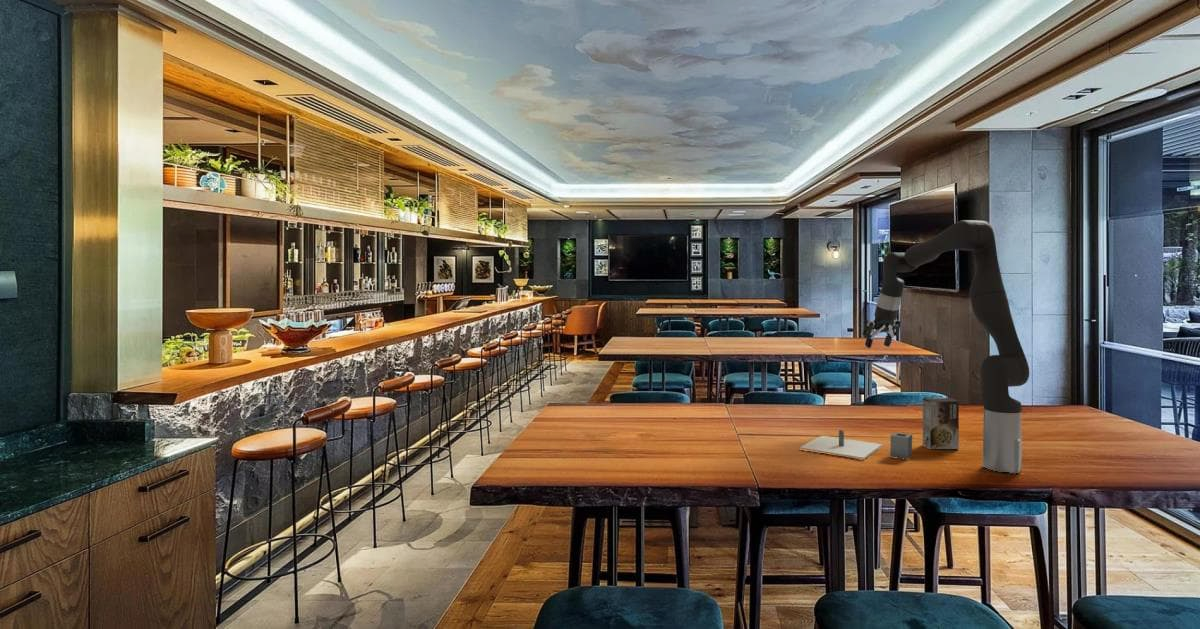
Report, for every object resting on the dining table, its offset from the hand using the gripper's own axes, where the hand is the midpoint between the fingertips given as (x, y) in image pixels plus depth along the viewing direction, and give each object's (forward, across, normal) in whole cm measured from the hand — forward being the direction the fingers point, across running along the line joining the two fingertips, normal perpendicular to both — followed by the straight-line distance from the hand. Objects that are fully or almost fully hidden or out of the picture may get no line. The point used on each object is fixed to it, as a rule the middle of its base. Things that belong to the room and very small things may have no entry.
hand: (877, 346), depth 235 cm
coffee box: (+19, -2, -38) cm, 43 cm away
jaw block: (+17, -23, -43) cm, 51 cm away
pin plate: (+22, -33, -29) cm, 49 cm away
